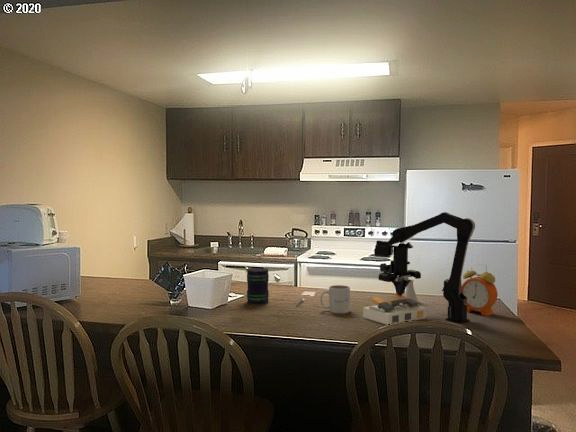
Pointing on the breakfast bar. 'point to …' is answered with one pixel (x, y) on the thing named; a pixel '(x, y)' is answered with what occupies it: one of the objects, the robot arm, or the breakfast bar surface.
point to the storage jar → (257, 286)
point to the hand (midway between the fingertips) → (399, 296)
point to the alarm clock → (480, 292)
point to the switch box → (394, 314)
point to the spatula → (304, 299)
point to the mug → (338, 299)
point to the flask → (411, 291)
